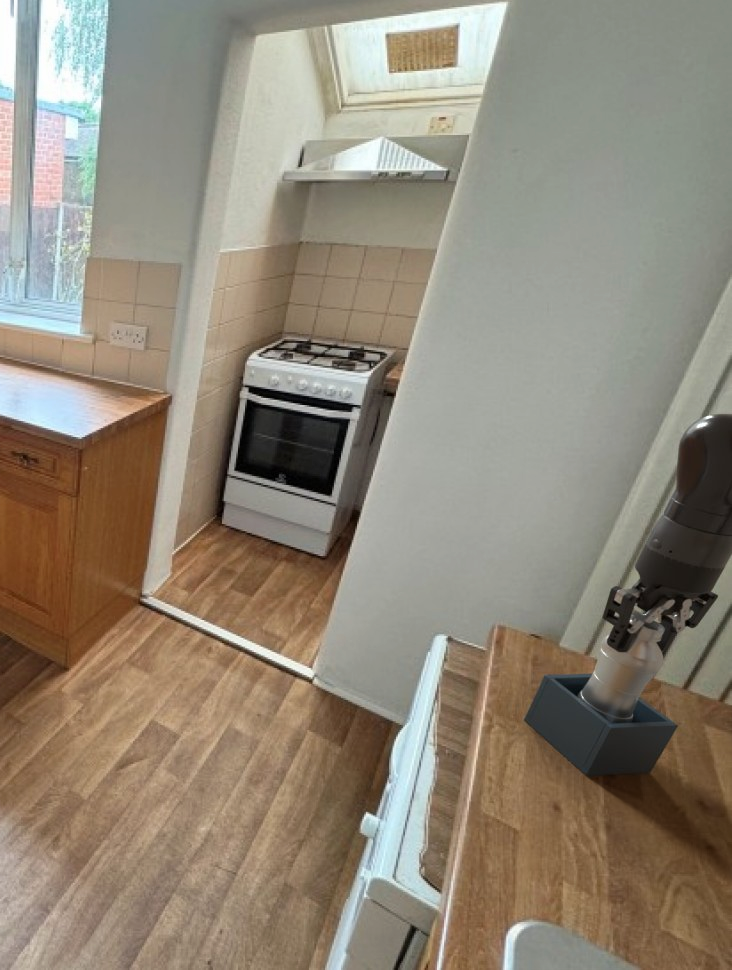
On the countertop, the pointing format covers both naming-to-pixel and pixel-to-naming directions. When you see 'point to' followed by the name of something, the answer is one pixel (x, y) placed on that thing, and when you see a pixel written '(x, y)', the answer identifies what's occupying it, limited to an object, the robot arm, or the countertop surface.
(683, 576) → the robot arm
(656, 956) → the countertop surface
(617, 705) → the plastic bottle
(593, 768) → the bin
